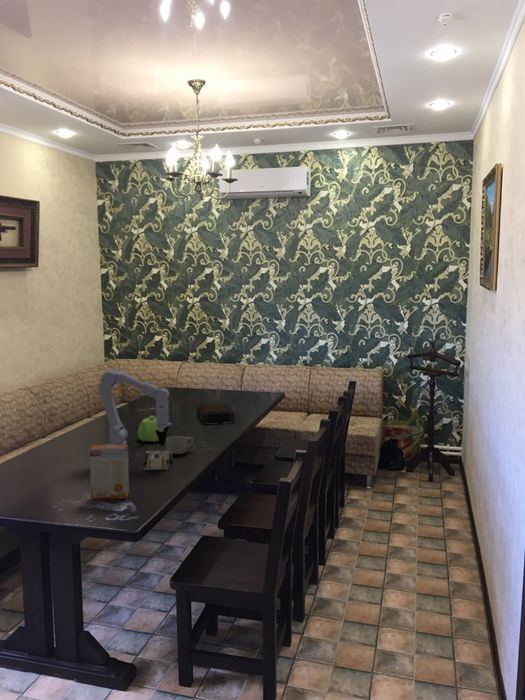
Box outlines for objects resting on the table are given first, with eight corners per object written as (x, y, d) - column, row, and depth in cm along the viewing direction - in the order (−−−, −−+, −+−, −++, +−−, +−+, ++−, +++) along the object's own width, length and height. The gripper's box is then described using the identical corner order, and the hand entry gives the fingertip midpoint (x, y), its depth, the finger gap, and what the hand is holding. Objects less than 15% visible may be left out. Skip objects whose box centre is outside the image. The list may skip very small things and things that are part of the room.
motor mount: (142, 470, 264) (142, 458, 264) (146, 460, 279) (146, 449, 279) (170, 470, 265) (170, 458, 265) (172, 460, 280) (172, 448, 280)
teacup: (167, 457, 284) (167, 441, 283) (164, 451, 295) (164, 435, 294) (195, 455, 288) (195, 439, 287) (192, 449, 298) (192, 434, 297)
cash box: (235, 423, 351) (235, 411, 350) (202, 425, 346) (202, 413, 345) (227, 414, 375) (227, 402, 374) (196, 416, 370) (196, 404, 369)
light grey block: (150, 468, 266) (150, 456, 265) (152, 464, 271) (151, 453, 270) (161, 468, 267) (161, 456, 266) (162, 464, 272) (162, 453, 271)
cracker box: (129, 494, 236) (128, 443, 234) (126, 499, 230) (125, 448, 228) (94, 494, 236) (93, 444, 233) (90, 499, 230) (89, 448, 227)
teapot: (154, 447, 301) (153, 422, 300) (128, 444, 306) (127, 420, 304) (172, 436, 322) (172, 413, 320) (148, 434, 326) (148, 411, 325)
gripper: (169, 418, 266) (170, 446, 268) (172, 410, 281) (172, 438, 282) (154, 418, 266) (154, 447, 267) (157, 410, 280) (157, 438, 282)
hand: (162, 442), depth 275 cm, fingers open, 7 cm apart
